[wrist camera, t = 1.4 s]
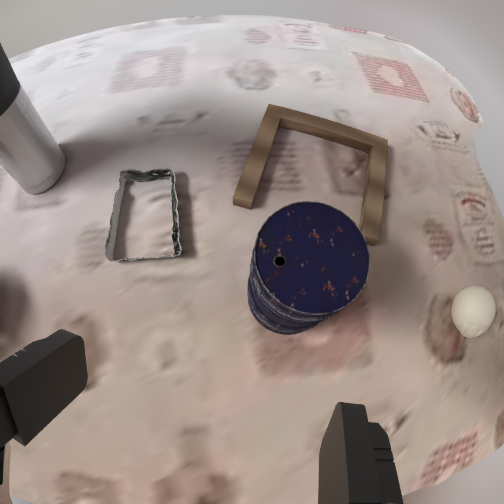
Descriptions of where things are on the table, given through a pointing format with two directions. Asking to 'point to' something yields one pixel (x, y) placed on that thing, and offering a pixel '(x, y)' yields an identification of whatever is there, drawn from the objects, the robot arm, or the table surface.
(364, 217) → the walnut bay
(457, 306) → the white egg
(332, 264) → the dark blue ridged cylinder
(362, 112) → the table surface
